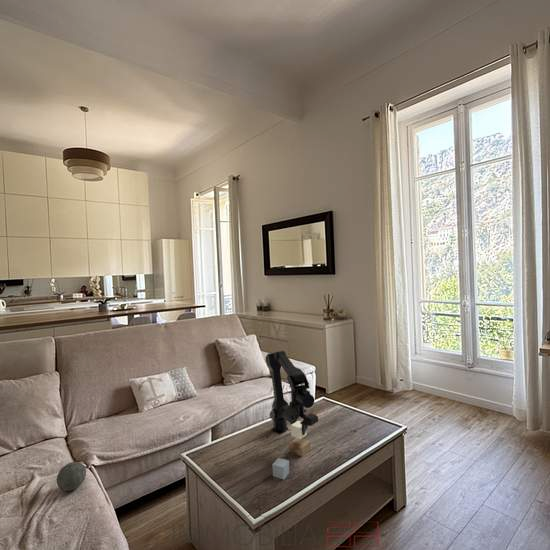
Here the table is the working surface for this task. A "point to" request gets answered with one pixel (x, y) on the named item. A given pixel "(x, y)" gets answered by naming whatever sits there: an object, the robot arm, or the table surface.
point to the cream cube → (297, 430)
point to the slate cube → (280, 468)
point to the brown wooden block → (299, 446)
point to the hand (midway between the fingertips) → (299, 433)
